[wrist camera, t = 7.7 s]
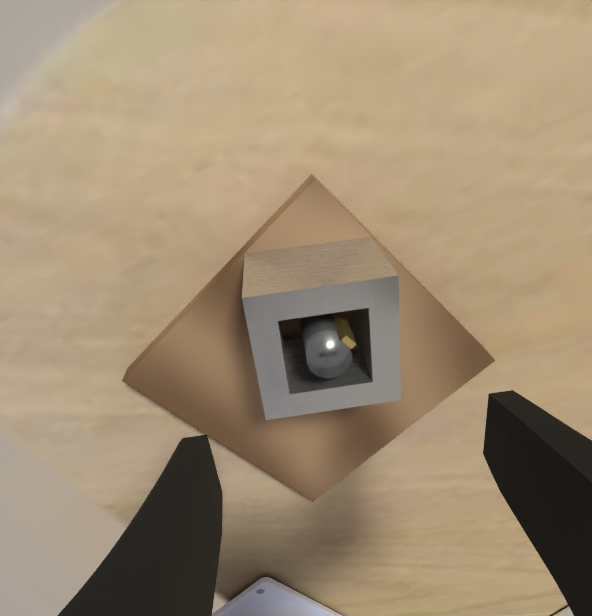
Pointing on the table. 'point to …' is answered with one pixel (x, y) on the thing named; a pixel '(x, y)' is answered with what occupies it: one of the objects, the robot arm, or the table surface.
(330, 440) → the copper plate
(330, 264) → the grey square sleeve
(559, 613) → the light bulb box
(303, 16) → the table surface
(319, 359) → the shaft stub
